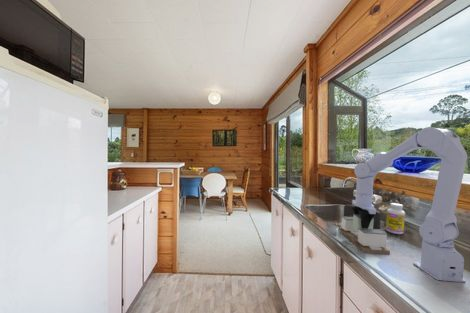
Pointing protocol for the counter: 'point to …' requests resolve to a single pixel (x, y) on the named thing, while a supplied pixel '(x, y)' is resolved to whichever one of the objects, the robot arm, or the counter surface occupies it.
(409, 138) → the robot arm
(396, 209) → the supplement bottle
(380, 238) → the mounted modules
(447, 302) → the counter surface
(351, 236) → the rail board
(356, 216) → the block
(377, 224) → the leaning round-cornered charcoal block
